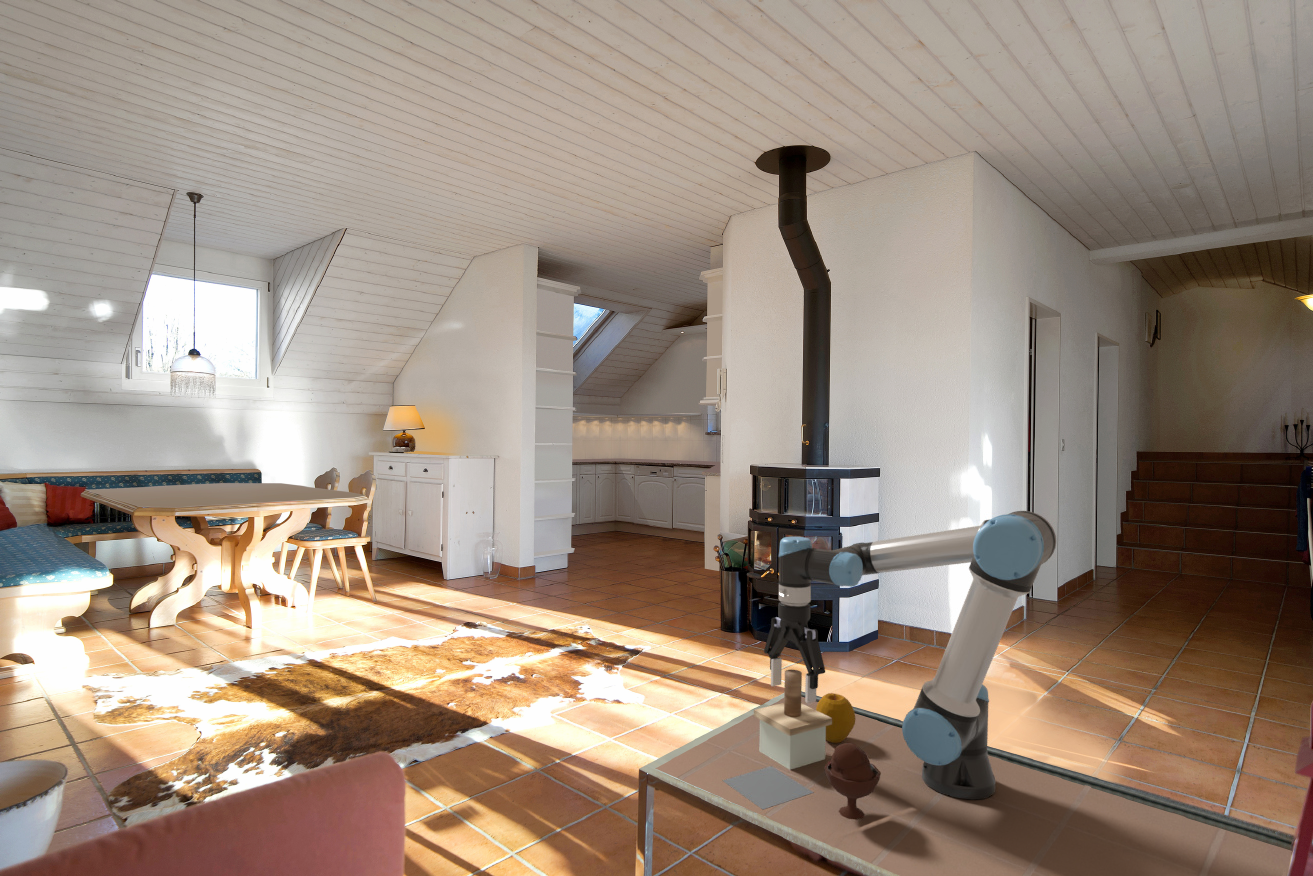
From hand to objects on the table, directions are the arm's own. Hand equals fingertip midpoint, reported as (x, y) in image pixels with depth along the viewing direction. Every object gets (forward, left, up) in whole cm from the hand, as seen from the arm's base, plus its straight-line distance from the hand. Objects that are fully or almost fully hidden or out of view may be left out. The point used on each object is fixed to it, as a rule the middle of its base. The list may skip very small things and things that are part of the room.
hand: (792, 693), depth 175 cm
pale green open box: (0, 0, -15) cm, 15 cm away
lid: (0, 0, -6) cm, 6 cm away
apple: (+2, -16, -16) cm, 22 cm away
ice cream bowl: (-26, +7, -16) cm, 31 cm away
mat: (-9, +15, -15) cm, 23 cm away
